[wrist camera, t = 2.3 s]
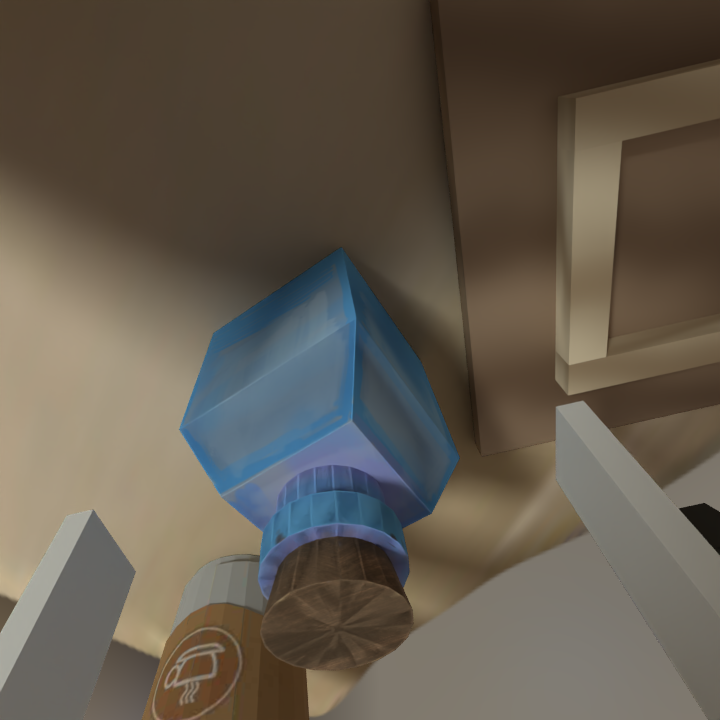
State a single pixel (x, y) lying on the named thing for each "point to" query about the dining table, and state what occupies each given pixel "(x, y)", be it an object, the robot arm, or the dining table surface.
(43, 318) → the dining table surface
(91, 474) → the dining table surface
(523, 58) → the socket board
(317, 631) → the perfume bottle
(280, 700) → the coffee cup
